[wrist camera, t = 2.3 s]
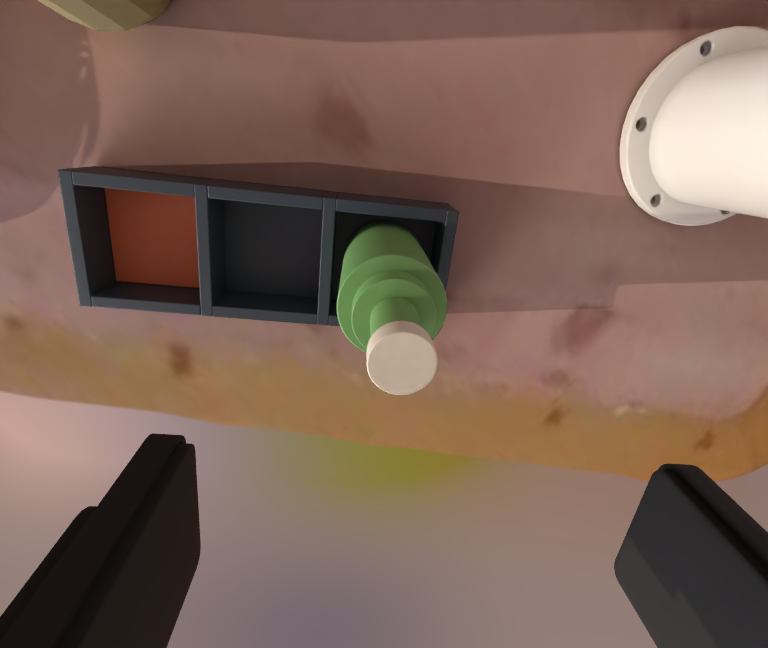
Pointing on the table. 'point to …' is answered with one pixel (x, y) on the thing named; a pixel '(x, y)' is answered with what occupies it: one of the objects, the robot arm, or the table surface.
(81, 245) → the tray
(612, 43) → the table surface
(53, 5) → the squeeze bottle
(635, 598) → the robot arm
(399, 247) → the bottle
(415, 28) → the table surface
